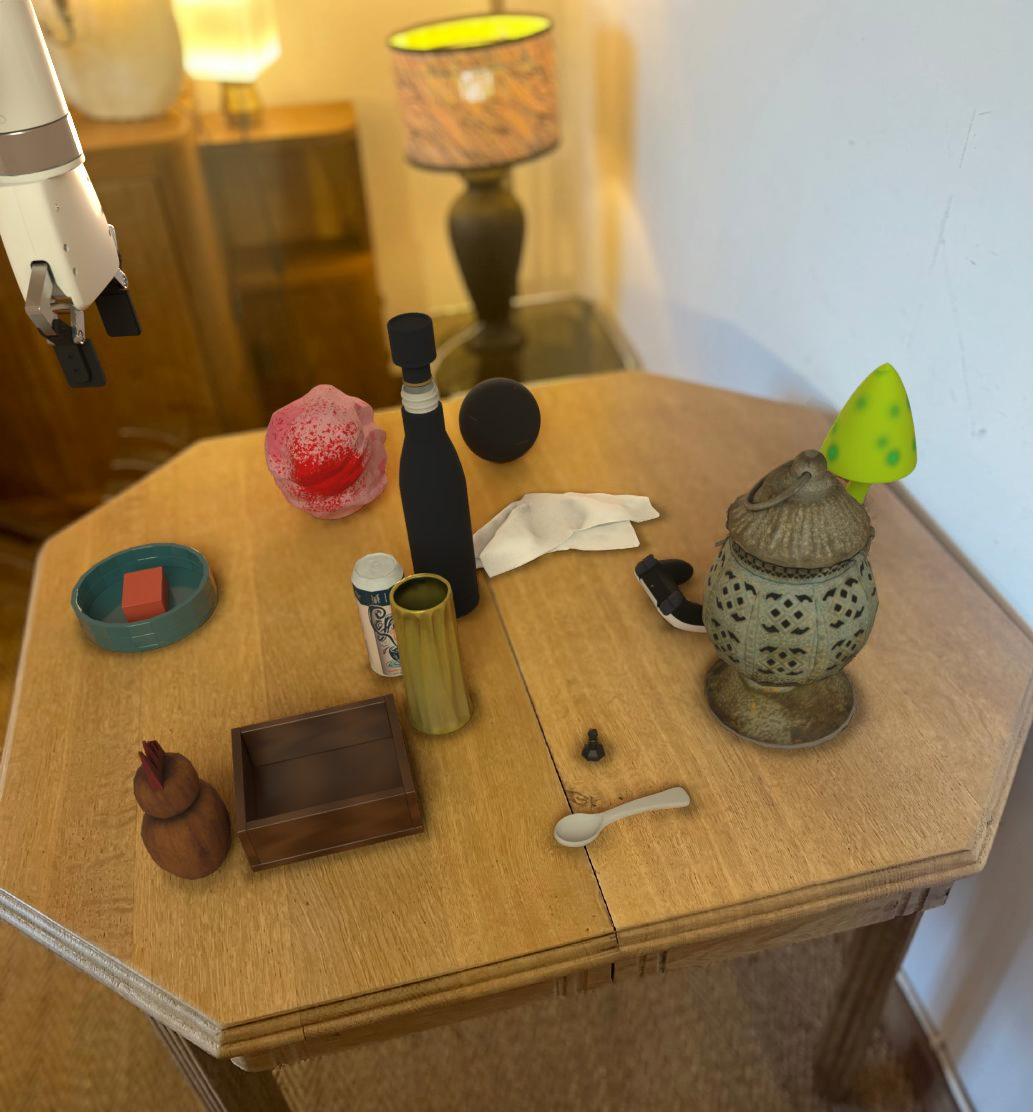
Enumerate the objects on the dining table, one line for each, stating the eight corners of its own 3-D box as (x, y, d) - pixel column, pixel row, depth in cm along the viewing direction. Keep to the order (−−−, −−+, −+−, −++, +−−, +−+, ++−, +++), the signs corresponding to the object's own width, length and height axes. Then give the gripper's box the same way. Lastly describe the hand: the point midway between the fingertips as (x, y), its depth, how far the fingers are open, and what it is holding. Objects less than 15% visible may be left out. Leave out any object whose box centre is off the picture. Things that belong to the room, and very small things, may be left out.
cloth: (638, 478, 117) (638, 461, 116) (676, 543, 107) (677, 526, 106) (424, 516, 114) (421, 500, 113) (443, 586, 104) (440, 569, 103)
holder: (253, 872, 79) (235, 832, 76) (246, 769, 87) (230, 728, 84) (423, 832, 81) (415, 791, 77) (401, 734, 89) (392, 693, 86)
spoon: (547, 831, 80) (547, 815, 79) (676, 791, 83) (679, 776, 82) (561, 858, 78) (562, 843, 77) (693, 817, 81) (696, 801, 80)
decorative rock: (409, 508, 106) (390, 365, 103) (275, 523, 103) (252, 376, 100) (390, 514, 124) (374, 392, 121) (276, 527, 121) (257, 402, 118)
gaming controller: (663, 593, 105) (619, 567, 100) (692, 562, 103) (648, 535, 99) (707, 656, 97) (661, 631, 93) (738, 624, 95) (694, 597, 91)
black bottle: (406, 607, 102) (355, 328, 82) (444, 574, 106) (404, 300, 85) (455, 627, 100) (414, 344, 79) (491, 593, 103) (462, 314, 82)
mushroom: (829, 632, 95) (879, 395, 78) (778, 585, 101) (815, 354, 84) (899, 606, 97) (963, 370, 80) (846, 561, 103) (895, 332, 86)
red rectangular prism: (168, 617, 103) (161, 599, 101) (129, 625, 102) (121, 607, 101) (168, 583, 107) (161, 566, 105) (131, 591, 107) (124, 573, 105)
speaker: (456, 477, 120) (447, 402, 113) (470, 435, 127) (462, 362, 120) (537, 479, 118) (533, 403, 112) (546, 436, 126) (543, 362, 119)
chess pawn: (576, 753, 86) (575, 730, 84) (592, 740, 87) (591, 717, 85) (593, 764, 85) (593, 741, 83) (609, 751, 86) (609, 728, 84)
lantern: (769, 775, 83) (812, 530, 66) (665, 681, 92) (678, 444, 75) (888, 706, 88) (957, 462, 70) (777, 623, 97) (814, 388, 79)
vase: (468, 684, 93) (452, 564, 83) (477, 730, 89) (461, 609, 79) (405, 695, 93) (381, 575, 83) (411, 741, 89) (386, 621, 79)
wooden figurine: (219, 896, 78) (158, 772, 67) (152, 888, 79) (82, 765, 68) (250, 829, 82) (198, 703, 72) (186, 822, 83) (126, 697, 73)
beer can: (393, 687, 94) (372, 588, 85) (361, 666, 96) (337, 568, 88) (429, 661, 96) (412, 562, 88) (397, 641, 99) (377, 543, 90)
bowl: (78, 665, 99) (65, 639, 97) (88, 582, 109) (76, 557, 107) (219, 636, 101) (210, 610, 99) (216, 557, 111) (207, 532, 109)
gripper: (25, 118, 81) (100, 319, 93) (-72, 188, 69) (29, 409, 81) (112, 112, 81) (176, 315, 93) (31, 181, 68) (117, 405, 80)
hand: (108, 359), depth 87 cm, fingers open, 9 cm apart
